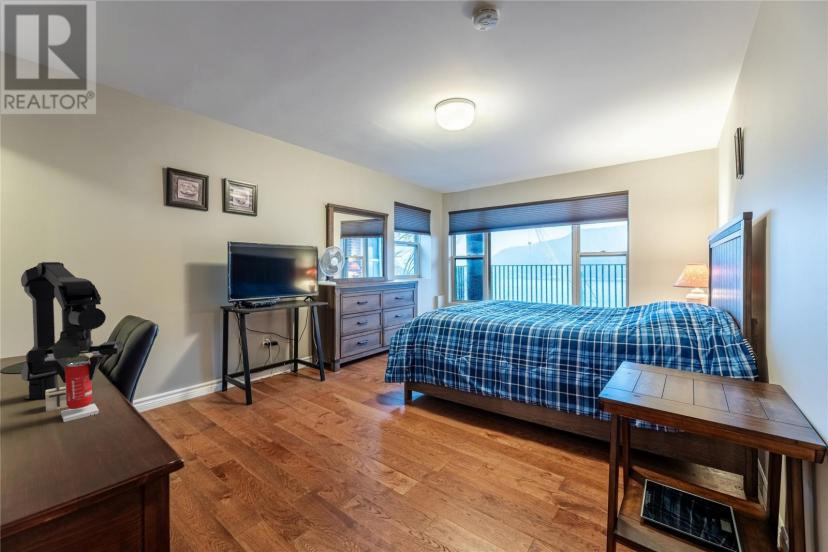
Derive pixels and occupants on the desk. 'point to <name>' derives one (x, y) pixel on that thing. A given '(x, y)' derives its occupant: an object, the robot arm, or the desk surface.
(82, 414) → the white mat
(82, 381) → the beverage can
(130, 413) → the desk surface
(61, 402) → the letter block
